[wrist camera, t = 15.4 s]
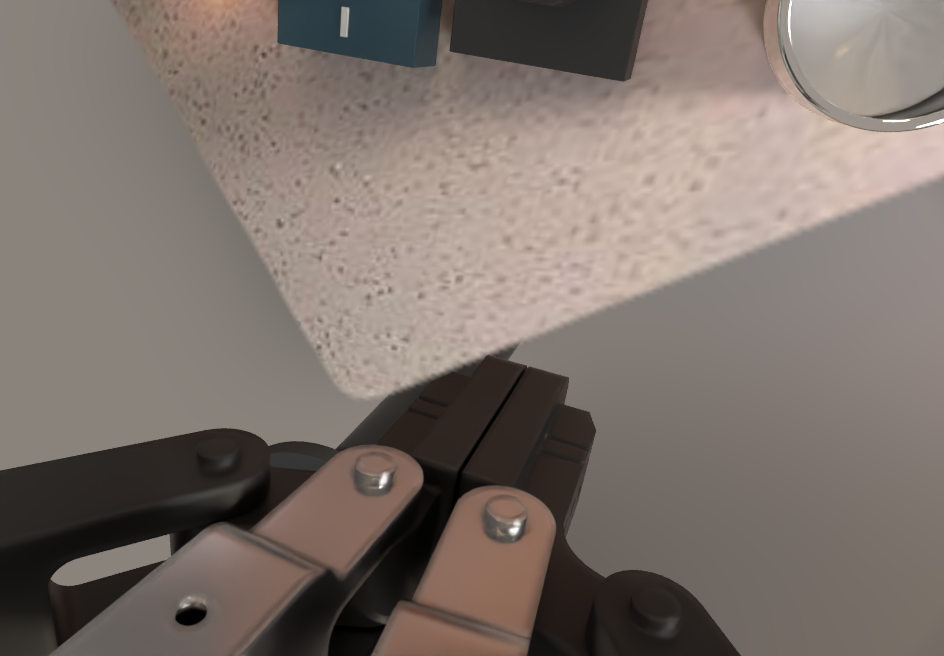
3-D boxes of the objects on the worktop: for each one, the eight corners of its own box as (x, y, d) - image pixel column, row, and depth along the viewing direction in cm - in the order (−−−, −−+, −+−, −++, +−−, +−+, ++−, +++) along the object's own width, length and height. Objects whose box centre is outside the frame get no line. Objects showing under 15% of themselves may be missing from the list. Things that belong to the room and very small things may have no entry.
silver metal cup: (723, 19, 33) (715, 6, 20) (862, -110, 29) (963, -229, 16) (818, 131, 33) (872, 192, 20) (966, 17, 30) (1146, -1, 17)
